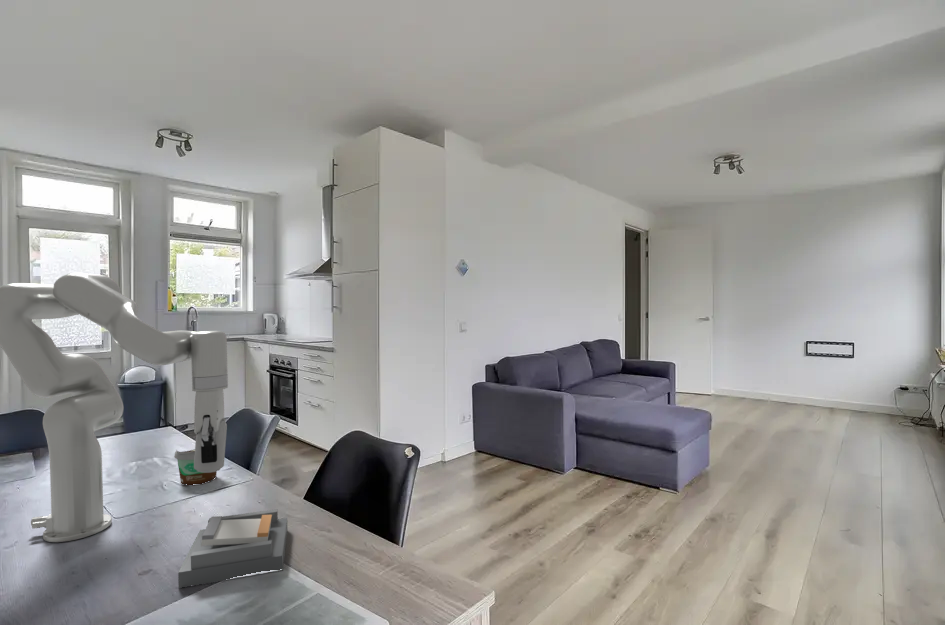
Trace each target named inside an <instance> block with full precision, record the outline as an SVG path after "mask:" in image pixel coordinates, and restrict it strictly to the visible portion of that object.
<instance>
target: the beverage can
mask: <svg viewBox="0 0 945 625" xmlns="http://www.w3.org/2000/svg"><path fill="white" fill-rule="evenodd" d="M201 429H202V427H201ZM211 431H213V429H209V432H211ZM227 431H228V424H227V419H226V418H225V417H224V418H223V419H222V421H221V422H220V427H219V430H218V431H217V432H216V439H215V444H217V461H216V462H211V463H202V462H201V437H202V435H201V434H202V430H201V431H200V432H199V434H195V444H194V445H195V446H194V449H195V456H194V469H195V470H197V471H198V472H202V473H211V472H216V471H217V472H218V471H220V470H221V469H223V467H224V466H225V458H226V456H225V455H226V442H227ZM209 436H211V437H212V435H209Z"/></svg>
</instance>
